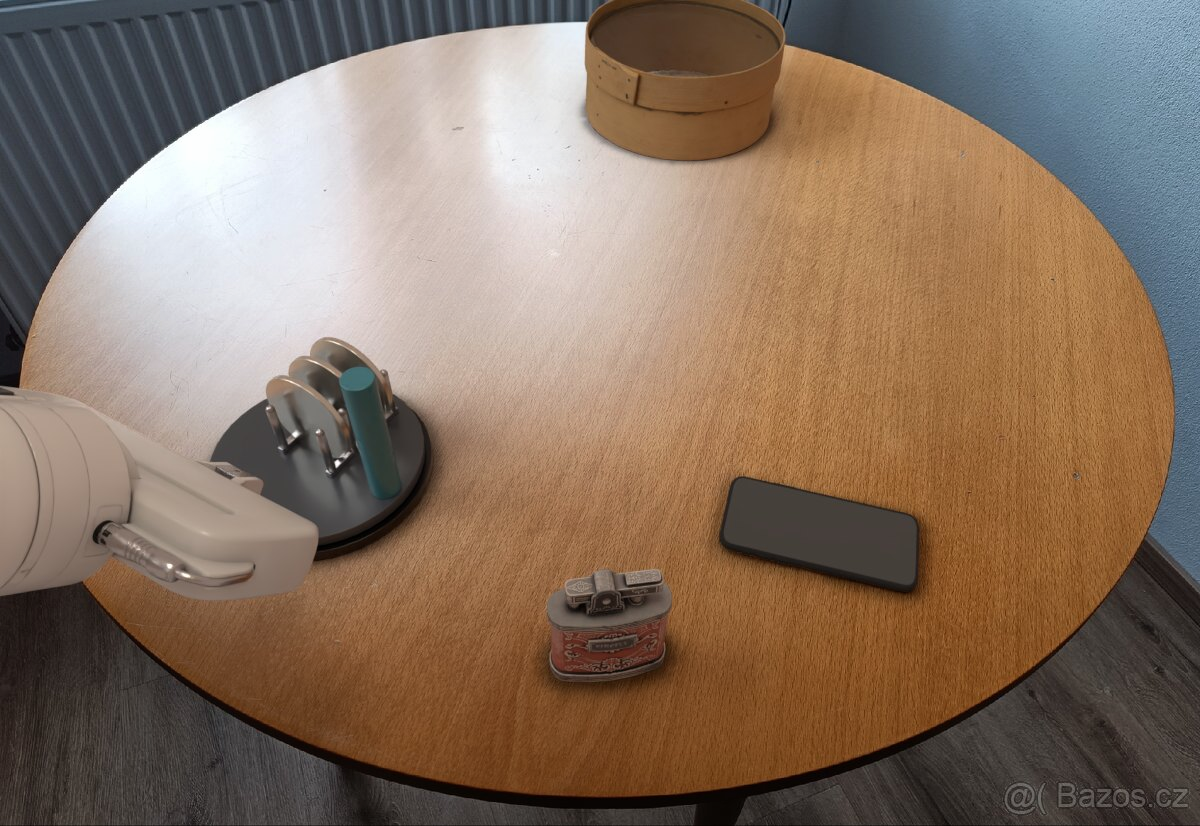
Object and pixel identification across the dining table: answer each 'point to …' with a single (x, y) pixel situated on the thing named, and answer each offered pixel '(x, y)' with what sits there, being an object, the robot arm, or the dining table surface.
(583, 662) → the lighter
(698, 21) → the steamer basket
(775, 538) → the smartphone
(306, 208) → the dining table surface
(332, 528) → the dish rack
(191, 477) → the robot arm
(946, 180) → the dining table surface
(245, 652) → the dining table surface
